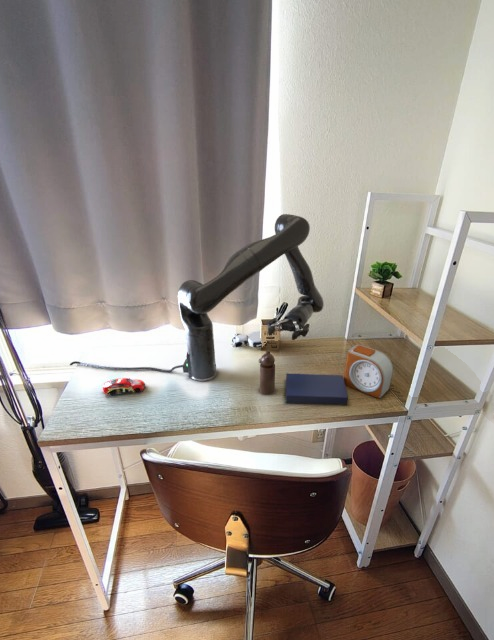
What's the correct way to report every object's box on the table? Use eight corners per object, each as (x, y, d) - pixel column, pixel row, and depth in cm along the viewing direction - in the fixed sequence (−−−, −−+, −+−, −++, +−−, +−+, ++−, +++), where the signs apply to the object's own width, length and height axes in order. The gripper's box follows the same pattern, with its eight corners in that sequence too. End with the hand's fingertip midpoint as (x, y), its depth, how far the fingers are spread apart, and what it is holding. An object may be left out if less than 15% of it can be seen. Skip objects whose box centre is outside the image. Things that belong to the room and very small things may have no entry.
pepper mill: (258, 394, 125) (258, 356, 117) (259, 386, 129) (259, 348, 121) (274, 394, 125) (275, 356, 117) (274, 386, 129) (275, 349, 121)
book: (286, 403, 121) (286, 395, 120) (286, 380, 133) (286, 373, 131) (347, 405, 121) (348, 397, 120) (341, 382, 133) (342, 375, 131)
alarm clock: (340, 383, 132) (345, 349, 124) (352, 374, 138) (357, 341, 130) (378, 399, 125) (386, 364, 117) (389, 388, 131) (397, 354, 123)
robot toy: (231, 353, 150) (268, 352, 150) (229, 343, 148) (267, 341, 147) (234, 340, 160) (268, 338, 160) (233, 330, 158) (268, 329, 157)
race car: (146, 384, 128) (144, 374, 125) (145, 392, 123) (143, 382, 121) (105, 387, 125) (102, 377, 123) (103, 396, 121) (100, 386, 118)
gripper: (279, 305, 139) (262, 321, 126) (316, 311, 135) (301, 328, 122) (279, 324, 143) (262, 341, 131) (314, 330, 139) (300, 349, 127)
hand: (281, 335), depth 126 cm, fingers open, 8 cm apart
